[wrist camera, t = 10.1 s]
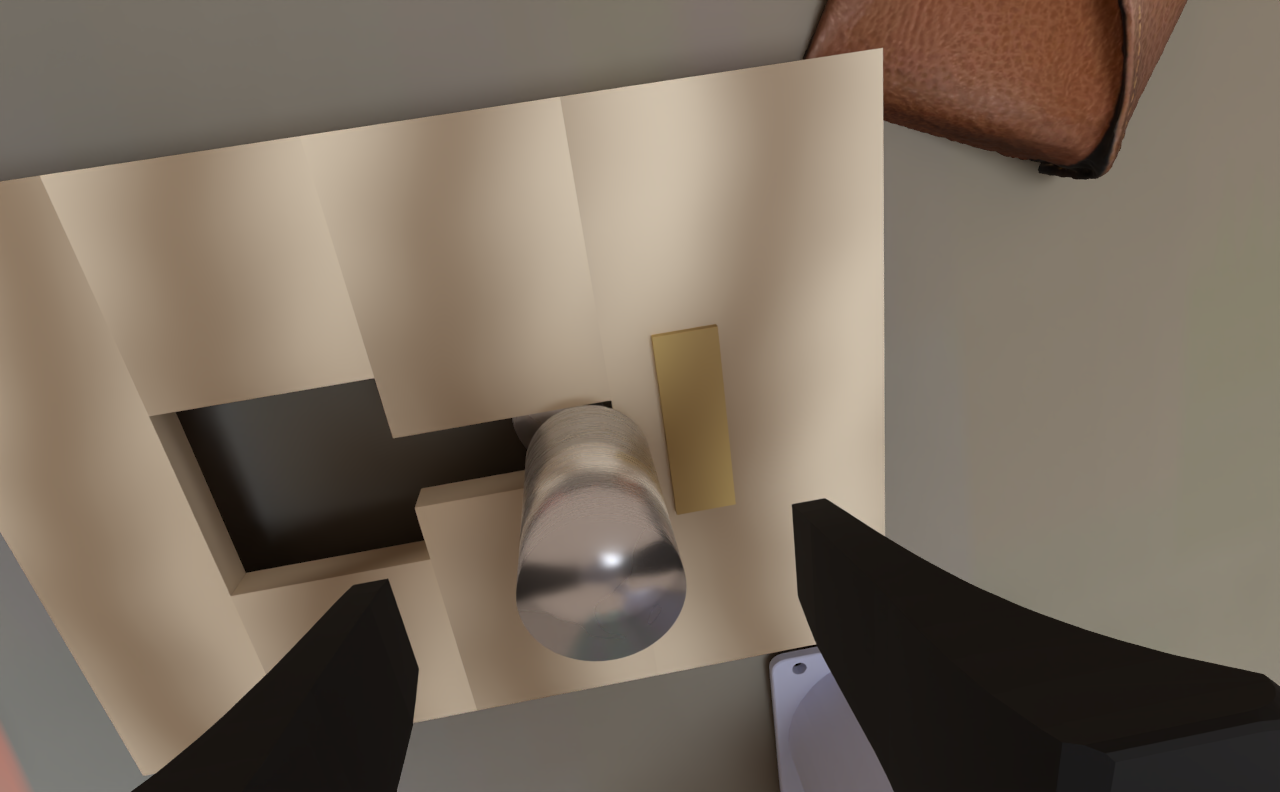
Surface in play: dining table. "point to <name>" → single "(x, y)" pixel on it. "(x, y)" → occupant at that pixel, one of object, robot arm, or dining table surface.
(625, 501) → the peg
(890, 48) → the sunglasses case
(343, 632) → the robot arm
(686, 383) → the keyhole plate
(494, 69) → the dining table surface
